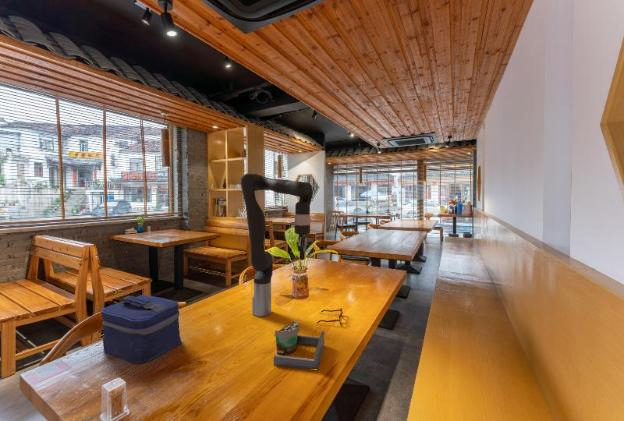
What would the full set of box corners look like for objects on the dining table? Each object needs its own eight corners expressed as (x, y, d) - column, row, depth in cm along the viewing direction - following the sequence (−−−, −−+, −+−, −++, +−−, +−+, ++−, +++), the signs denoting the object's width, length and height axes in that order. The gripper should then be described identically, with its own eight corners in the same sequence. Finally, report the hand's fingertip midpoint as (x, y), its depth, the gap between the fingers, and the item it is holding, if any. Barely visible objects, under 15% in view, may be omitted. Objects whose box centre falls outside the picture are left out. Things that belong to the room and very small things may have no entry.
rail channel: (273, 365, 104) (273, 349, 103) (286, 341, 121) (286, 327, 120) (317, 370, 101) (317, 354, 100) (324, 345, 118) (324, 331, 117)
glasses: (341, 327, 135) (341, 317, 135) (314, 325, 137) (315, 315, 137) (343, 316, 148) (343, 306, 148) (319, 313, 150) (319, 304, 150)
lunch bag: (91, 349, 113) (89, 300, 112) (140, 327, 133) (139, 285, 132) (142, 368, 101) (141, 313, 100) (188, 340, 121) (187, 294, 120)
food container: (285, 360, 107) (285, 335, 106) (274, 355, 110) (274, 330, 110) (305, 346, 116) (305, 323, 116) (294, 342, 120) (294, 319, 120)
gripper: (298, 222, 140) (297, 256, 141) (291, 224, 127) (291, 262, 128) (312, 222, 138) (312, 256, 139) (307, 225, 125) (306, 263, 126)
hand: (302, 259), depth 133 cm, fingers closed
